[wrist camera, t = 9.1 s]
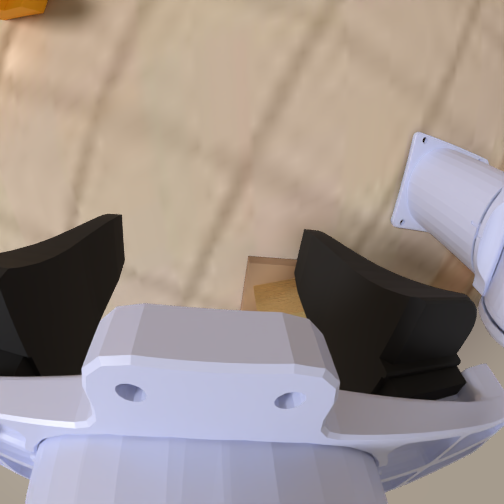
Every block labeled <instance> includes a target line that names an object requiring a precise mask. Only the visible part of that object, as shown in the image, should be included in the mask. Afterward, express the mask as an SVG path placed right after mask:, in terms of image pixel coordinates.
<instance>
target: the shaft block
mask: <svg viewBox="0 0 504 504" xmlns="http://www.w3.org/2000/svg"><path fill="white" fill-rule="evenodd" d="M296 262H297V260H293V259H279V258H266V257H252V256H248V262H247V269H246V276H245V282H244V289H243V296H242V303H241V309H240V310H242V311H257V308H256V301H255V295H254V288H253V286H255V285H260V284H266V283H271V282H277V281H282V280H287V279H292V278H295V276H294V271H295V267H296Z"/></svg>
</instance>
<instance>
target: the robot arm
mask: <svg viewBox="0 0 504 504" xmlns="http://www.w3.org/2000/svg"><path fill="white" fill-rule="evenodd" d="M423 138H425V141H424V142H423ZM401 220H403V221H402V223H400V221H401ZM391 224H392V225H393V226H394V227H398V228H405V229H412V230H418V231H425V232H429V233H430V234H431V235H433V236H434V237H435V238H436V239H437V240H438V241H439V242H441V243H442V244H443V245H444V246H445V247H446V248H447V249H448V250H449V251H451V252H452V253H453V254H454V255H455V256H456V257H457V258H458V259H459V260H460V261H461V262H462V263H464V264H465V265H466V266H467V267H468V268H469V269H470V270H471V271H472V272H473V273H474V274H475V278H474V281H473V286H474V288H475V289H476V290H477V291H478V292H479V293H480V294H481V295H482V296H481V299H480V301H479V307H478V309H479V314H480V317H481V320H482V321H483V324H484V325H485V327H486V329H487V331H488V332H489V334H490V335H491V336H492V338H493V339H494V340H495V341H496V342H497V343H499V344H500V345H501V346H502V347H504V172H503V171H501V170H499V169H497V168H495V167H492V166H490V165H489V163H488V160H487V159H485V158H482V157H480V156H478V155H476V154H474V153H471V152H469V151H467V150H464V149H462V148H460V147H457V146H455V145H453V144H450V143H448V142H445V141H443V140H440V139H437V138H435V137H432V136H429V135H427V134H424V133H421V132H416V133H415V134H414V135H413V139H412V144H411V148H410V152H409V156H408V160H407V164H406V168H405V172H404V176H403V180H402V184H401V187H400V191H399V194H398V198H397V201H396V205H395V208H394V211H393V215H392V218H391ZM124 261H125V257H124V243H123V227H122V215H118V214H105V215H102V216H99V217H97V218H95V219H92V220H90V221H88V222H86V223H84V224H82V225H80V226H77V227H75V228H73V229H71V230H69V231H66V232H64V233H62V234H60V235H58V236H55V237H53V238H50V239H48V240H45V241H42V242H39V243H37V244H34V245H30V246H27V247H23V248H19V249H16V250H12V251H7V252H3V253H0V465H2V466H4V467H6V468H7V469H9V470H11V471H13V472H15V473H17V474H19V475H21V476H23V477H25V478H28V479H29V480H30V482H29V487H28V491H27V496H26V501H25V504H388V502H387V499H386V495H385V492H388V491H391V490H393V489H396V488H398V487H401V486H403V485H406V484H408V483H411V482H413V481H415V480H417V479H420V478H422V477H424V476H426V475H429V474H431V473H433V472H435V471H437V470H439V469H441V468H443V467H445V466H448V465H450V464H452V463H454V462H456V461H458V460H459V459H461V458H464V457H465V456H467V455H469V454H471V453H473V452H475V451H476V450H477V449H478V448H479V447H481V446H482V445H483V444H484V443H485V442H487V441H488V440H489V439H490V438H491V437H492V436H493V435H494V434H496V433H497V432H498V431H499V430H500V429H501V428H502V427H503V426H504V390H503V388H502V386H501V385H500V383H499V382H498V380H497V379H496V377H495V376H494V374H493V373H492V371H491V370H490V368H489V367H488V365H487V364H480V365H477V366H473V367H469V368H467V369H465V370H464V371H463V372H460V371H459V369H458V367H457V365H459V364H460V361H461V360H460V358H459V357H458V355H457V352H458V351H459V349H460V348H461V346H462V345H463V343H464V341H465V340H466V339H467V337H468V335H469V334H470V332H471V330H472V328H473V326H474V324H475V320H476V315H477V309H476V306H475V304H474V303H473V302H472V301H471V299H470V298H469V297H468V296H467V295H465V294H462V293H457V292H452V291H448V290H443V289H439V288H435V287H432V286H428V285H425V284H422V283H419V282H416V281H413V280H410V279H407V278H405V277H402V276H400V275H397V274H395V273H393V272H391V271H389V270H386V269H384V268H382V267H380V266H378V265H376V264H374V263H373V262H371V261H369V260H367V259H366V258H364V257H362V256H360V255H359V254H357V253H356V252H354V251H352V250H351V249H349V248H348V247H346V246H344V245H343V244H341V243H340V242H338V241H337V240H335V239H333V238H332V237H330V236H328V235H327V234H325V233H323V232H321V231H316V230H306V229H304V232H303V237H302V241H301V245H300V250H299V254H298V258H297V262H296V267H295V271H294V276H295V282H296V287H297V292H298V295H299V298H300V301H301V304H302V307H303V309H304V312H305V315H306V318H303V317H299V316H295V315H291V314H287V313H283V312H263V311H242V310H224V309H208V308H194V307H181V306H169V305H158V304H148V303H143V304H135V305H126V306H118V307H116V308H115V309H113V310H112V311H111V312H110V313H109V314H107V315H106V316H105V317H104V318H103V319H102V320H101V317H102V315H103V313H104V311H105V309H106V306H107V304H108V302H109V300H110V298H111V296H112V293H113V291H114V289H115V287H116V285H117V283H118V280H119V278H120V274H121V271H122V268H123V265H124Z"/></svg>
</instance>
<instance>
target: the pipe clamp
mask: <svg viewBox="0 0 504 504" xmlns="http://www.w3.org/2000/svg"><path fill="white" fill-rule="evenodd" d="M47 1H48V0H0V20H8V19H13V18H18V17H23V16H28V15H34V14H40V13H44V10H45V7H46V4H47Z"/></svg>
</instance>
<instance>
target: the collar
mask: <svg viewBox="0 0 504 504" xmlns="http://www.w3.org/2000/svg"><path fill="white" fill-rule="evenodd" d="M253 288H254V295H255V301H256V308H257V311H263V312H283V313H287V314H291V315H295V316H299V317H303V318H306V315H305V312H304V309H303V307H302V304H301V301H300V298H299V295H298V292H297V287H296V282H295V278H292V279H287V280H282V281H277V282H271V283H266V284H260V285H255V286H253Z"/></svg>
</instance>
